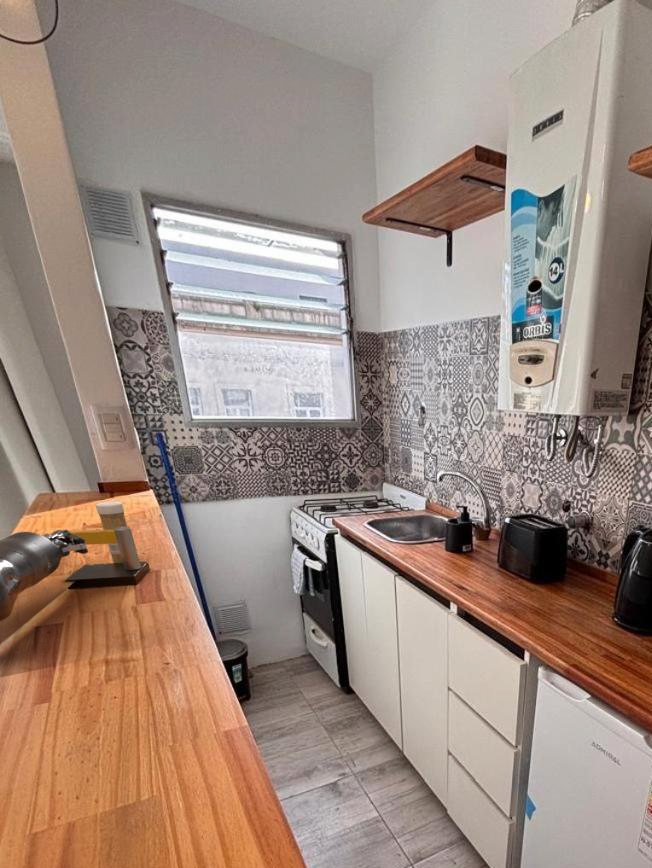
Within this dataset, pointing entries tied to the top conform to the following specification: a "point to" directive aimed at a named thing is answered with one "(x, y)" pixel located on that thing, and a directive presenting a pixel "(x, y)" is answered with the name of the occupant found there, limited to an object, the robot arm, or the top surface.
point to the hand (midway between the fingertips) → (64, 535)
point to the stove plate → (106, 575)
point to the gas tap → (114, 536)
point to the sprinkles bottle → (112, 523)
